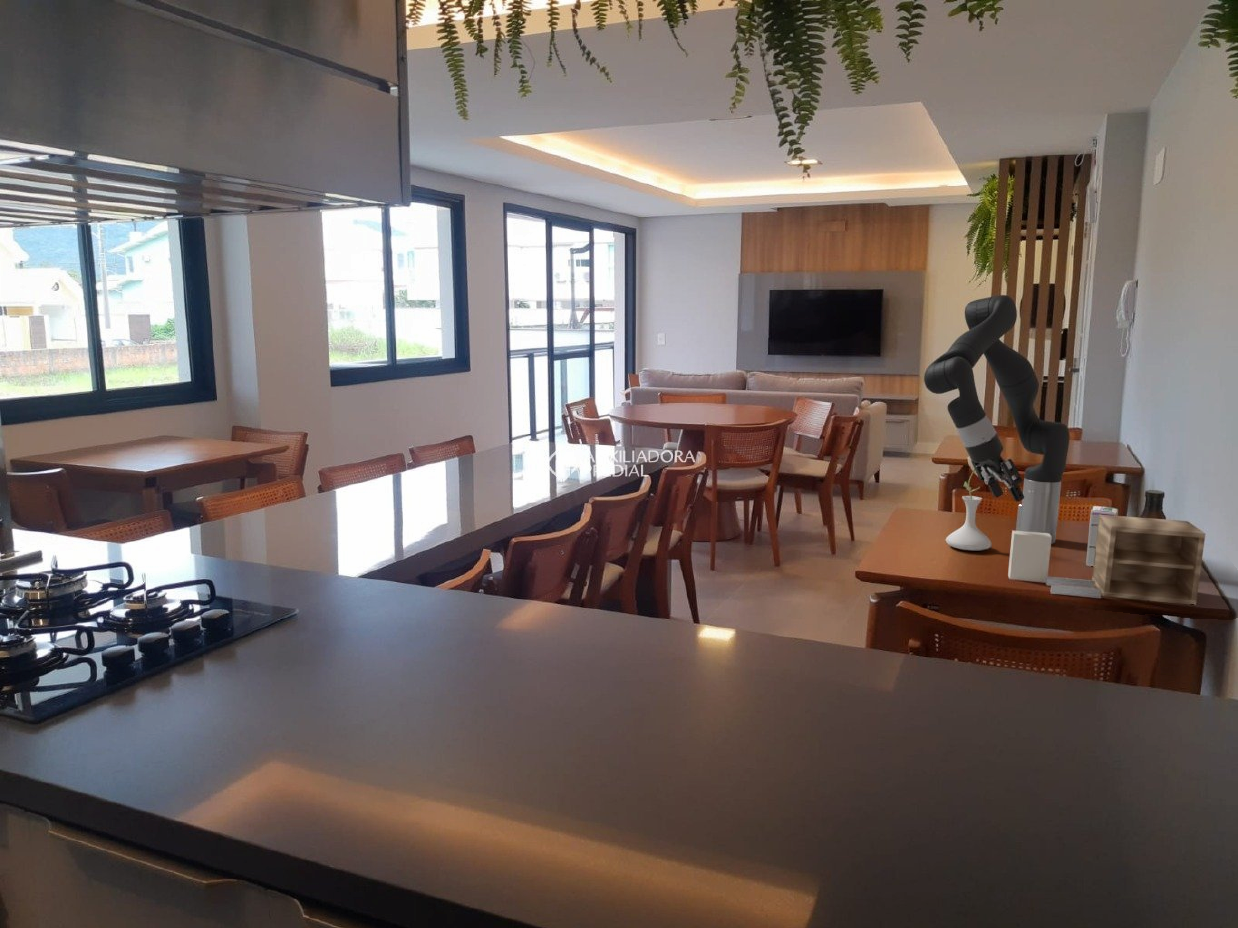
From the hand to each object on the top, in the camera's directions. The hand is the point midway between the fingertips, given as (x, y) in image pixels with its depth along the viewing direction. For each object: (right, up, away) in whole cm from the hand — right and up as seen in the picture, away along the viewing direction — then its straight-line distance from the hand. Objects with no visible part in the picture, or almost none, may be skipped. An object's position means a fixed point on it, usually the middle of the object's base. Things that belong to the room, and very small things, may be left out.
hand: (1009, 498), depth 206 cm
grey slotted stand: (+11, -21, -7) cm, 25 cm away
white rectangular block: (+5, -19, +2) cm, 20 cm away
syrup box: (+29, -18, +15) cm, 37 cm away
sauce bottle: (+39, -18, +11) cm, 45 cm away
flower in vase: (+2, -15, +30) cm, 33 cm away
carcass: (+27, -21, -7) cm, 35 cm away
